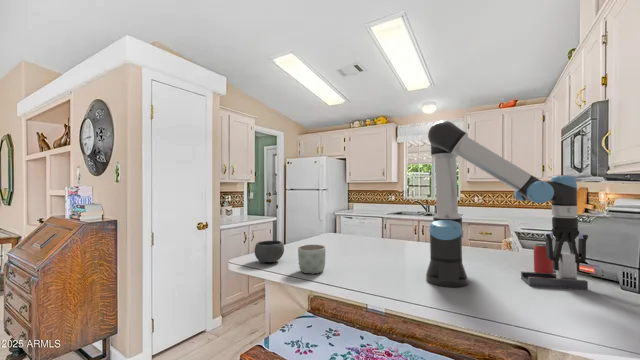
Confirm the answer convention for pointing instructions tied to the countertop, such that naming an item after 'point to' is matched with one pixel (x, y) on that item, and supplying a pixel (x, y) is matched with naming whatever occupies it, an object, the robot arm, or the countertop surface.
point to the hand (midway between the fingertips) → (566, 279)
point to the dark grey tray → (552, 281)
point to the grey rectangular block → (568, 265)
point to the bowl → (269, 251)
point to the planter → (311, 258)
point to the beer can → (542, 259)
